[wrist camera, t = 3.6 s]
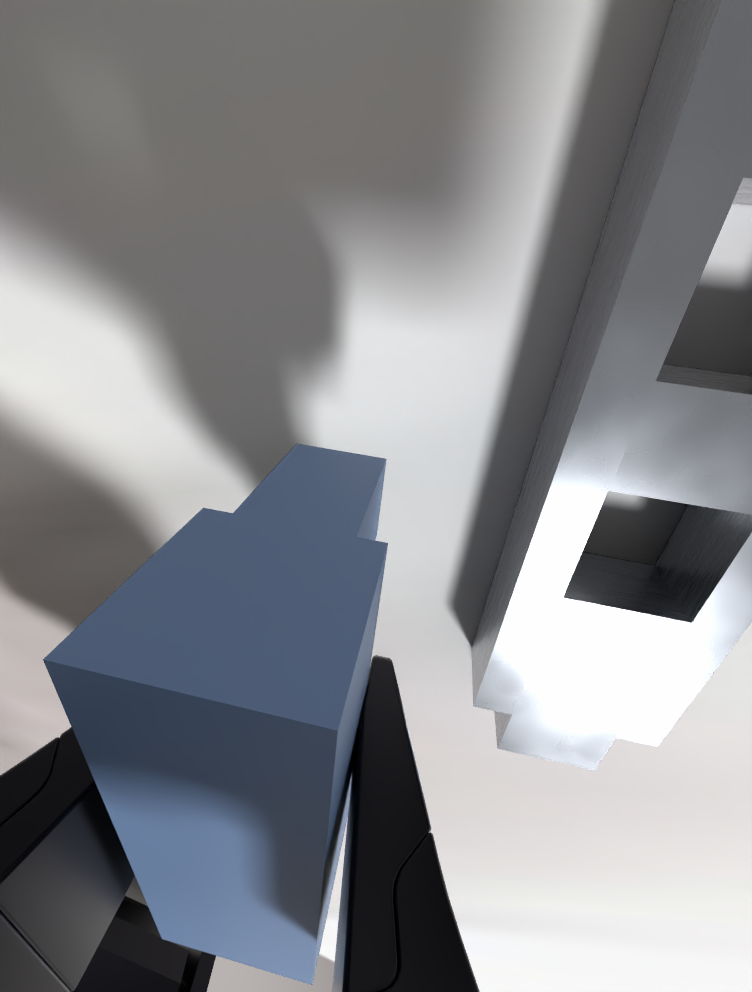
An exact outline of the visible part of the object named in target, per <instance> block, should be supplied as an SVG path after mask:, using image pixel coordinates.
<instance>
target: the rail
mask: <svg viewBox="0 0 752 992" xmlns="http://www.w3.org/2000/svg"><path fill="white" fill-rule="evenodd" d="M732 203H736V204H746V205H752V0H675V2H674V5H673V8H672V12H671V15H670V18H669V21H668V24H667V27H666V31H665V34H664V37H663V40H662V43H661V47H660V50H659V53H658V56H657V59H656V63H655V66H654V69H653V72H652V75H651V78H650V82H649V85H648V88H647V91H646V94H645V98H644V101H643V104H642V107H641V110H640V114H639V117H638V120H637V123H636V126H635V129H634V133H633V136H632V139H631V142H630V145H629V149H628V152H627V155H626V158H625V161H624V165H623V168H622V171H621V174H620V177H619V181H618V184H617V187H616V190H615V193H614V196H613V200H612V203H611V206H610V209H609V212H608V216H607V219H606V222H605V225H604V228H603V232H602V235H601V238H600V241H599V244H598V247H597V251H596V254H595V257H594V260H593V263H592V267H591V270H590V273H589V276H588V279H587V283H586V286H585V289H584V292H583V295H582V298H581V302H580V305H579V308H578V311H577V314H576V318H575V321H574V324H573V327H572V330H571V334H570V337H569V340H568V343H567V346H566V349H565V353H564V356H563V359H562V362H561V365H560V369H559V372H558V375H557V378H556V381H555V385H554V388H553V391H552V394H551V397H550V400H549V404H548V407H547V410H546V413H545V416H544V420H543V423H542V426H541V429H540V432H539V436H538V439H537V442H536V445H535V448H534V451H533V455H532V458H531V461H530V464H529V467H528V471H527V474H526V477H525V480H524V483H523V487H522V490H521V493H520V496H519V499H518V502H517V506H516V509H515V512H514V515H513V518H512V522H511V525H510V528H509V531H508V534H507V538H506V541H505V544H504V547H503V550H502V553H501V557H500V560H499V563H498V566H497V569H496V573H495V576H494V579H493V582H492V585H491V589H490V592H489V595H488V598H487V601H486V604H485V608H484V611H483V614H482V617H481V620H480V624H479V627H478V630H477V633H476V636H475V640H474V643H473V646H472V676H473V706H475V707H480V708H484V709H489V710H493V711H495V723H496V736H497V748H498V749H502V750H506V751H511V752H515V753H520V754H524V755H528V756H533V757H537V758H541V759H546V760H550V761H554V762H559V763H563V764H567V765H572V766H576V767H580V768H585V769H589V770H593V771H595V769H596V768H597V766H598V765H599V763H600V762H601V760H602V759H603V757H604V756H605V754H606V753H607V751H608V750H609V748H610V747H611V745H612V744H613V742H614V741H615V739H616V738H619V739H624V740H628V741H633V742H637V743H642V744H646V745H651V746H655V747H658V746H659V744H660V743H661V742H662V740H663V739H664V738H665V736H666V735H667V734H668V732H669V731H670V730H671V728H672V727H673V726H674V724H675V723H676V722H677V720H678V719H679V718H680V716H681V715H682V714H683V712H684V711H685V710H686V709H687V707H688V706H689V705H690V703H691V702H692V701H693V699H694V698H695V697H696V695H697V694H698V693H699V691H700V690H701V689H702V687H703V686H704V685H705V683H706V682H707V681H708V679H709V678H710V677H711V675H712V674H713V673H714V671H715V670H716V669H717V667H718V666H719V665H720V664H721V662H722V661H723V660H724V658H725V657H726V656H727V654H728V653H729V652H730V650H731V649H732V648H733V646H734V645H735V644H736V642H737V641H738V640H739V638H740V637H741V636H742V634H743V633H744V632H745V630H746V629H747V628H748V626H749V625H750V624H751V622H752V376H746V375H739V374H732V373H724V372H717V371H710V370H702V369H695V368H688V367H681V366H673V365H666V364H663V363H664V361H665V358H666V356H667V354H668V351H669V349H670V347H671V344H672V342H673V340H674V337H675V335H676V333H677V330H678V328H679V326H680V323H681V321H682V319H683V316H684V314H685V312H686V309H687V307H688V305H689V303H690V300H691V298H692V296H693V293H694V291H695V289H696V286H697V284H698V282H699V279H700V277H701V275H702V272H703V270H704V268H705V265H706V263H707V261H708V258H709V256H710V254H711V251H712V249H713V247H714V244H715V242H716V240H717V237H718V235H719V233H720V231H721V228H722V226H723V224H724V221H725V219H726V217H727V214H728V212H729V210H730V207H731V205H732ZM608 491H613V492H619V493H625V494H631V495H637V496H643V497H649V498H655V499H661V500H667V501H672V502H678V503H684V504H688V506H687V508H686V510H685V512H684V514H683V515H682V517H681V519H680V521H679V523H678V524H677V526H676V528H675V530H674V532H673V534H672V535H671V537H670V539H669V541H668V543H667V545H666V546H665V548H664V550H663V552H662V554H661V556H660V557H659V559H658V561H657V563H656V565H649V564H644V563H638V562H633V561H627V560H622V559H617V558H611V557H606V556H600V555H595V554H589V553H584V552H582V551H583V549H584V546H585V544H586V542H587V539H588V537H589V535H590V532H591V530H592V528H593V525H594V523H595V521H596V518H597V516H598V514H599V512H600V509H601V507H602V505H603V502H604V500H605V498H606V495H607V493H608Z"/></svg>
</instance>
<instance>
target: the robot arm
mask: <svg viewBox="0 0 752 992" xmlns="http://www.w3.org/2000/svg"><path fill="white" fill-rule="evenodd" d="M430 831H431V825H430V821H429V817H428V812H427V808H426V804H425V800H424V795H423V791H422V787H421V782H420V778H419V774H418V770H417V765H416V761H415V757H414V752H413V748H412V744H411V739H410V735H409V731H408V727H407V722H406V718H405V714H404V709H403V705H402V701H401V697H400V692H399V688H398V684H397V679H396V675H395V671H394V667H393V663H392V660H391V659H390V658H386V657H382V656H377V655H376V656H374V657H373V658H372V662H371V666H370V670H369V677H368V684H367V688H366V692H365V696H364V701H363V705H362V709H361V714H360V720H359V727H358V734H357V741H356V748H355V755H354V762H353V769H352V779H351V790H350V801H349V812H348V823H347V834H346V845H345V856H344V867H343V878H342V889H341V900H340V911H339V922H338V933H337V944H336V955H335V966H334V977H333V989H332V992H479V989H478V986H477V983H476V980H475V977H474V974H473V971H472V968H471V965H470V962H469V959H468V956H467V953H466V950H465V947H464V944H463V941H462V938H461V935H460V932H459V929H458V926H457V922H456V919H455V916H454V913H453V910H452V906H451V903H450V900H449V897H448V893H447V889H446V885H445V881H444V878H443V874H442V870H441V866H440V862H439V858H438V854H437V850H436V846H435V841H434V837H433V834H432V833H431V832H430ZM215 958H216V955H213V954H209V953H206V952H203V951H200V950H196V949H193V948H190V947H187V946H183V945H180V944H177V943H174V942H170V941H167V940H164V939H162V938H161V935H160V933H159V931H158V928H157V926H156V924H155V921H154V919H153V917H152V914H151V912H150V910H149V907H148V905H147V903H146V900H145V898H144V895H143V893H142V891H141V888H140V886H139V884H138V881H137V879H136V877H135V874H134V872H133V870H132V867H131V865H130V863H129V860H128V858H127V856H126V853H125V851H124V848H123V846H122V844H121V841H120V839H119V837H118V834H117V832H116V830H115V827H114V825H113V823H112V820H111V818H110V816H109V813H108V811H107V809H106V806H105V804H104V801H103V799H102V797H101V794H100V792H99V790H98V787H97V785H96V783H95V780H94V778H93V776H92V773H91V771H90V769H89V766H88V764H87V762H86V759H85V757H84V754H83V752H82V750H81V747H80V745H79V743H78V740H77V738H76V736H75V733H74V731H73V729H72V727H71V728H70V729H68V730H67V731H65V732H64V733H63V734H61V736H60V738H59V737H57V738H55V739H54V740H52V741H51V742H49V743H48V744H46V745H45V746H44V747H42V748H41V749H39V750H38V751H36V752H35V753H33V754H32V755H30V756H29V757H27V758H26V759H24V760H23V761H21V762H20V763H18V764H17V765H15V766H14V767H12V768H11V769H9V770H8V771H6V772H5V773H3V774H2V775H0V992H207V988H208V984H209V980H210V976H211V972H212V969H213V965H214V961H215Z"/></svg>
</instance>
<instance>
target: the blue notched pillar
mask: <svg viewBox="0 0 752 992" xmlns="http://www.w3.org/2000/svg"><path fill="white" fill-rule="evenodd" d="M385 466H386V459H384V458H378V457H372V456H366V455H360V454H354V453H349V452H343V451H337V450H331V449H325V448H319V447H313V446H308V445H302V444H296V445H295V446H294V447H293V448H292V450H291V451H290V452H289V453H288V454H287V455H286V456H285V457H284V458H283V459H282V460H281V462H280V463H279V464H278V465H277V466H276V467H275V468H274V469H273V470H272V471H271V472H270V474H269V475H268V476H267V477H266V478H265V479H264V480H263V481H262V482H261V483H260V484H259V486H258V487H257V488H256V489H255V490H254V491H253V492H252V493H251V494H250V495H249V497H248V498H247V499H246V500H245V501H244V502H243V503H242V504H241V505H240V506H239V507H238V509H237V510H236V511H235V512H234V513H228V512H222V511H217V510H212V509H207V508H203V509H202V510H201V511H199V512H198V513H197V514H196V515H195V516H194V517H193V518H192V519H191V520H190V521H189V522H188V523H187V524H186V525H185V526H184V527H183V528H182V529H180V530H179V531H178V532H177V533H176V534H175V535H174V536H173V537H172V538H171V539H170V540H169V541H168V542H167V543H166V544H165V545H164V546H163V547H161V548H160V549H159V550H158V551H157V552H156V553H155V554H154V555H153V556H152V557H151V558H150V559H149V560H148V561H147V562H146V563H145V564H144V565H142V566H141V567H140V568H139V569H138V570H137V571H136V572H135V573H134V574H133V575H132V576H131V577H130V578H129V579H128V580H127V581H126V582H125V583H123V584H122V585H121V586H120V587H119V588H118V589H117V590H116V591H115V592H114V593H113V594H112V595H111V596H110V597H109V598H108V599H107V600H105V601H104V602H103V603H102V604H101V605H100V606H99V607H98V608H97V609H96V610H95V611H94V612H93V613H92V614H91V615H90V616H89V617H88V618H86V619H85V620H84V621H83V622H82V623H81V624H80V625H79V626H78V627H77V628H76V629H75V630H74V631H73V632H72V633H71V634H70V635H69V636H67V637H66V638H65V639H64V640H63V641H62V642H61V643H60V644H59V645H58V646H57V647H56V648H55V649H54V650H53V651H52V652H51V653H50V654H48V655H47V656H46V657H45V658H44V659H43V660H44V663H45V665H46V668H47V670H48V672H49V675H50V677H51V679H52V682H53V684H54V686H55V689H56V691H57V693H58V696H59V698H60V700H61V703H62V705H63V707H64V710H65V712H66V715H67V717H68V719H69V722H70V724H71V726H72V729H73V731H74V733H75V736H76V738H77V740H78V743H79V745H80V747H81V750H82V752H83V754H84V757H85V759H86V762H87V764H88V766H89V769H90V771H91V773H92V776H93V778H94V780H95V783H96V785H97V787H98V790H99V792H100V794H101V797H102V799H103V801H104V804H105V806H106V809H107V811H108V813H109V816H110V818H111V820H112V823H113V825H114V827H115V830H116V832H117V834H118V837H119V839H120V841H121V844H122V846H123V848H124V851H125V853H126V856H127V858H128V860H129V863H130V865H131V867H132V870H133V872H134V874H135V877H136V879H137V881H138V884H139V886H140V888H141V891H142V893H143V895H144V898H145V900H146V903H147V905H148V907H149V910H150V912H151V914H152V917H153V919H154V921H155V924H156V926H157V928H158V931H159V933H160V935H161V938H162V939H164V940H167V941H170V942H174V943H177V944H180V945H183V946H187V947H190V948H193V949H196V950H200V951H203V952H206V953H209V954H213V955H216V956H219V957H223V958H226V959H229V960H232V961H236V962H239V963H242V964H245V965H249V966H252V967H255V968H258V969H262V970H265V971H268V972H271V973H275V974H278V975H281V976H284V977H288V978H291V979H294V980H298V981H301V982H304V983H307V984H311V985H312V984H313V980H314V975H315V970H316V966H317V961H318V956H319V951H320V946H321V942H322V937H323V932H324V927H325V922H326V918H327V913H328V908H329V903H330V898H331V894H332V889H333V884H334V879H335V874H336V870H337V865H338V860H339V855H340V850H341V845H342V841H343V836H344V831H345V826H346V821H347V817H348V812H349V801H350V790H351V779H352V769H353V762H354V755H355V748H356V741H357V734H358V727H359V720H360V714H361V709H362V705H363V701H364V696H365V692H366V688H367V684H368V677H369V670H370V663H371V656H372V649H373V642H374V636H375V629H376V622H377V615H378V608H379V601H380V594H381V587H382V581H383V574H384V567H385V560H386V553H387V546H388V543H384V542H379V541H375V539H376V536H377V528H378V521H379V513H380V505H381V497H382V489H383V481H384V473H385Z"/></svg>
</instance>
